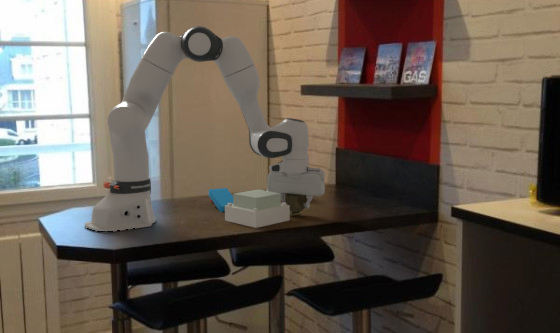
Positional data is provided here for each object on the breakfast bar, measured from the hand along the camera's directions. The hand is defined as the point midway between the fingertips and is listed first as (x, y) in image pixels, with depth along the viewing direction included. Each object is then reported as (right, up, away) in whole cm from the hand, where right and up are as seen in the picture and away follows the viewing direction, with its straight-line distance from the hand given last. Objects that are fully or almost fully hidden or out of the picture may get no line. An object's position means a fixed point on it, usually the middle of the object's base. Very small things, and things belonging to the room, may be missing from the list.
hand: (295, 207), depth 216 cm
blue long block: (-27, -1, +17) cm, 32 cm away
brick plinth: (-13, -4, -6) cm, 15 cm away
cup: (0, -3, 0) cm, 3 cm away
